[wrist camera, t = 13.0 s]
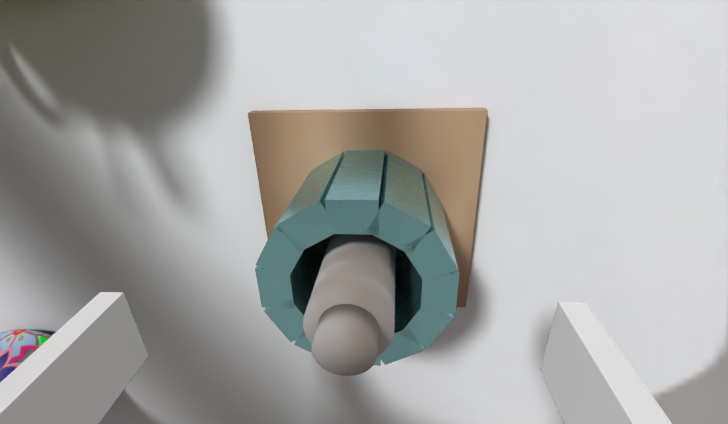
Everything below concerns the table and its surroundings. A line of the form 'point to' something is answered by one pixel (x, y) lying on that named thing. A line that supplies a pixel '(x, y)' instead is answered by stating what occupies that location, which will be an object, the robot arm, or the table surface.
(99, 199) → the table surface
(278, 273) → the teal slatted pot
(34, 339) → the mug
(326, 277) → the peg on square base
